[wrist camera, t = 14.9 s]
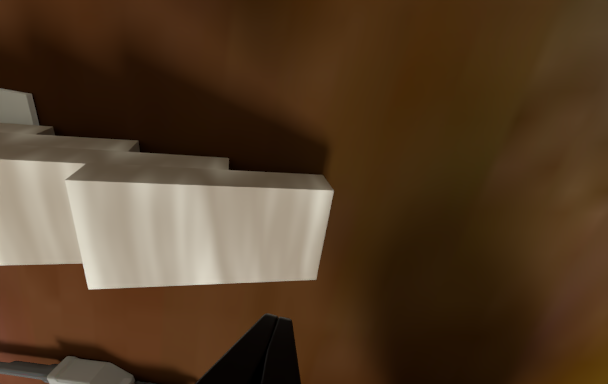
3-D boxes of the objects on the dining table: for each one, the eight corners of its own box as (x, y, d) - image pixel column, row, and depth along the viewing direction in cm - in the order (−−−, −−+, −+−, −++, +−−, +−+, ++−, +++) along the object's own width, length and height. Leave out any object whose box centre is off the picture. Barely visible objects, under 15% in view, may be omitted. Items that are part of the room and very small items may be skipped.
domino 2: (228, 171, 13) (-55, 156, 11) (225, 259, 15) (-12, 265, 13) (228, 158, 15) (-17, 142, 12) (226, 240, 17) (15, 241, 14)
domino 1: (128, 151, 14) (-169, 136, 11) (139, 239, 16) (-109, 245, 13) (138, 140, 15) (-119, 125, 13) (147, 222, 17) (-73, 224, 15)
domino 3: (333, 190, 13) (64, 180, 10) (316, 279, 15) (88, 289, 12) (322, 174, 14) (87, 162, 12) (308, 257, 16) (104, 261, 14)
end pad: (31, 93, 15) (26, 94, 15) (63, 224, 18) (58, 226, 18) (-50, 79, 16) (-58, 79, 15) (-6, 209, 19) (-11, 211, 19)
